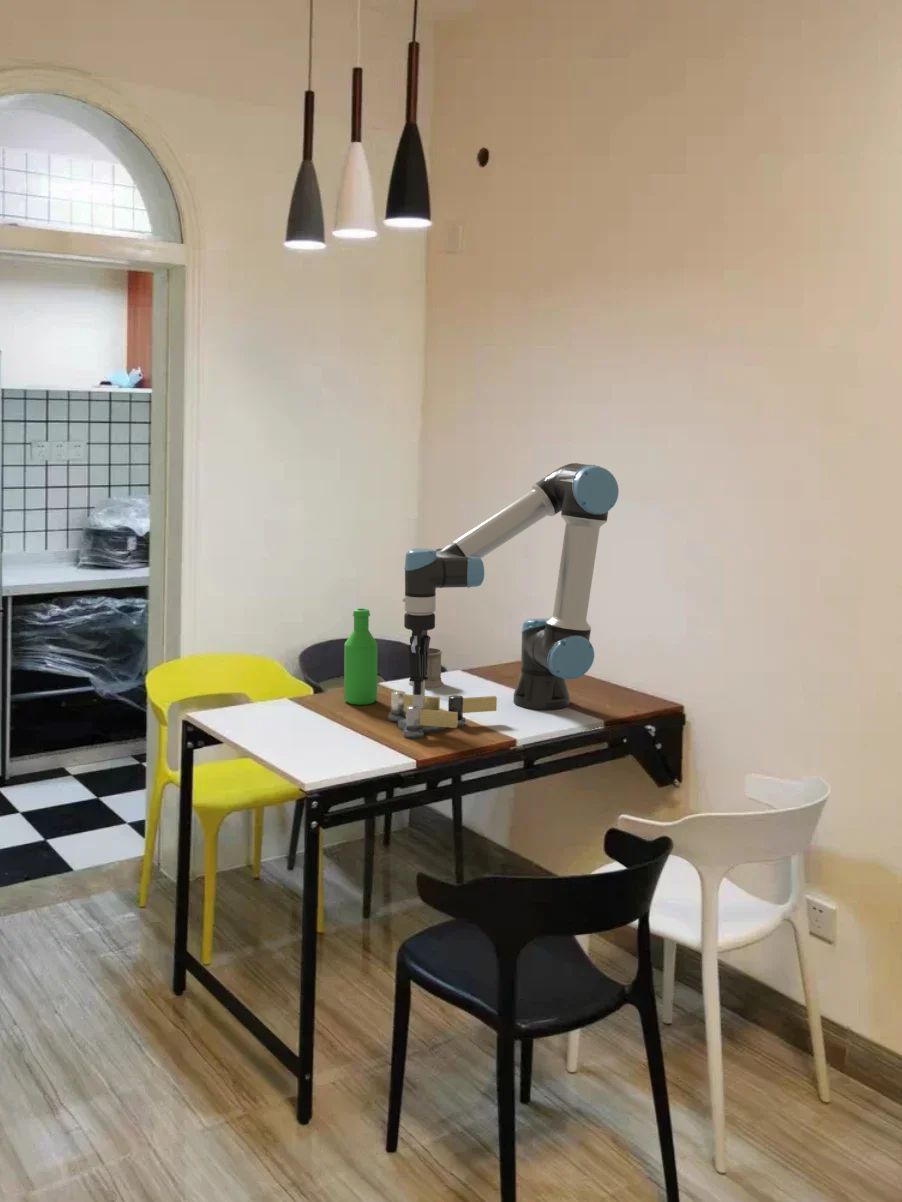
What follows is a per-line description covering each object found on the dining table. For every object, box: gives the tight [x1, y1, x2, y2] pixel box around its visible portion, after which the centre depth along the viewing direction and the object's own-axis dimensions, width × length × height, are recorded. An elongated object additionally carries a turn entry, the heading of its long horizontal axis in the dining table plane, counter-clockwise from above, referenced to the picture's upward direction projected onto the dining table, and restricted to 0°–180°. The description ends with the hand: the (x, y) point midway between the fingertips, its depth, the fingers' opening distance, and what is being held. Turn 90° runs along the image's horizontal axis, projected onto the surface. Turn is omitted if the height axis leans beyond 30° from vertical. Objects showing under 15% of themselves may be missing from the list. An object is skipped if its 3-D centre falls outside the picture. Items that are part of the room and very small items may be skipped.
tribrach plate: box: [387, 711, 466, 740], centre depth 277 cm, size 20×18×2 cm
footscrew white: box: [390, 690, 441, 716], centre depth 283 cm, size 12×4×6 cm, turn 77°
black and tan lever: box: [447, 694, 498, 720], centre depth 283 cm, size 12×4×6 cm, turn 108°
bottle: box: [343, 608, 378, 706], centre depth 300 cm, size 9×9×25 cm
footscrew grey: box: [405, 705, 458, 732], centre depth 270 cm, size 12×4×6 cm, turn 77°
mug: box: [408, 647, 444, 689], centre depth 320 cm, size 14×10×12 cm
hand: (418, 706), depth 280 cm, fingers closed
